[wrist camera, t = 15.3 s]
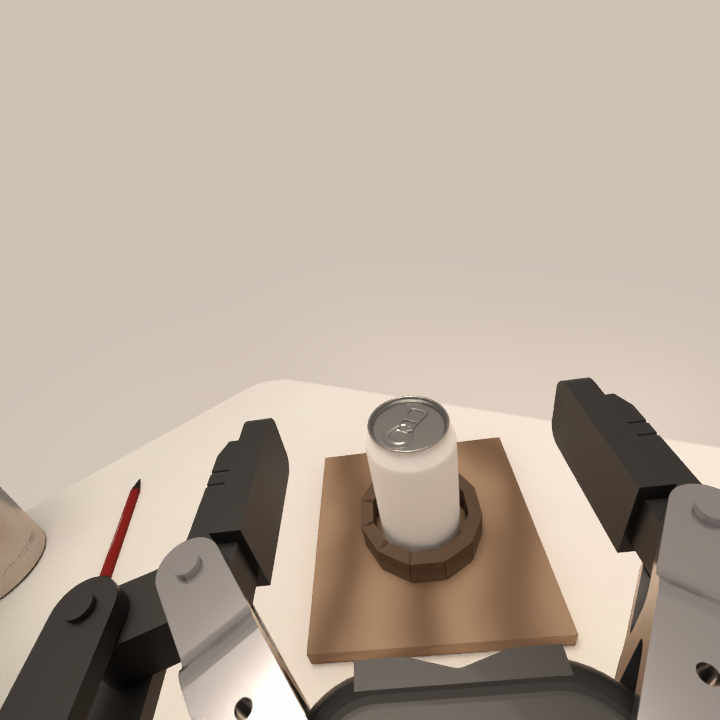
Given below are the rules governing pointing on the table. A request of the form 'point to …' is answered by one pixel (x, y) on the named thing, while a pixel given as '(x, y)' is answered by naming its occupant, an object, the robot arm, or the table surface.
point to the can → (414, 472)
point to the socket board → (432, 571)
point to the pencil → (120, 532)
